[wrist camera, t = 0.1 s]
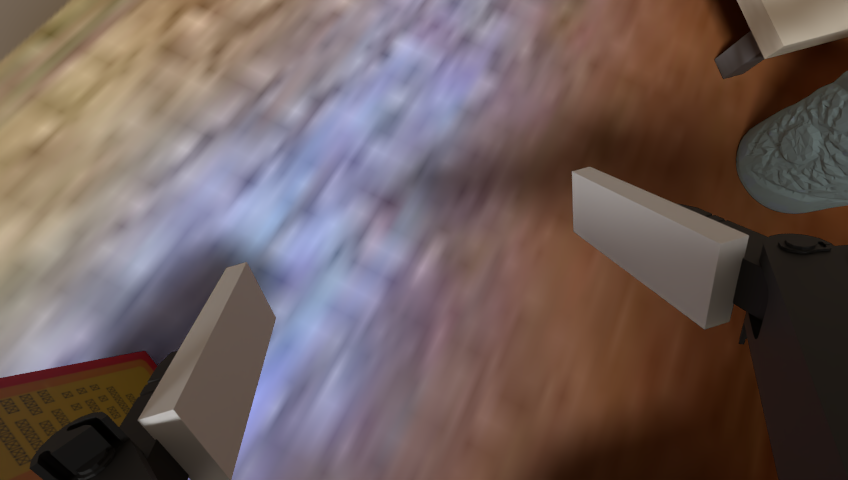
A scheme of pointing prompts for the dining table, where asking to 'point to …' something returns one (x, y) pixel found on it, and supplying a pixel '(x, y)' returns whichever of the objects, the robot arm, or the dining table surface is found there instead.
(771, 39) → the stand
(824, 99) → the grey green cup
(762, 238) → the robot arm
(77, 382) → the baking soda box
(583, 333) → the dining table surface
